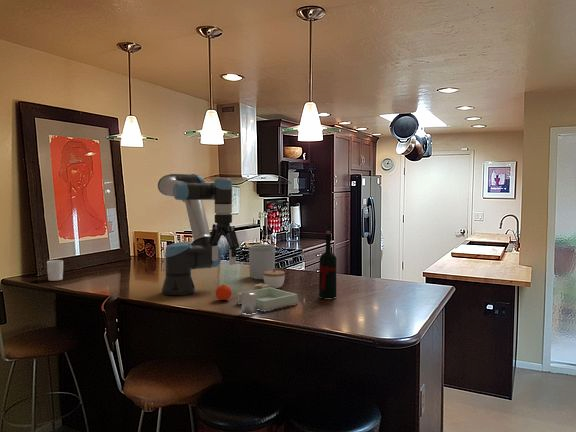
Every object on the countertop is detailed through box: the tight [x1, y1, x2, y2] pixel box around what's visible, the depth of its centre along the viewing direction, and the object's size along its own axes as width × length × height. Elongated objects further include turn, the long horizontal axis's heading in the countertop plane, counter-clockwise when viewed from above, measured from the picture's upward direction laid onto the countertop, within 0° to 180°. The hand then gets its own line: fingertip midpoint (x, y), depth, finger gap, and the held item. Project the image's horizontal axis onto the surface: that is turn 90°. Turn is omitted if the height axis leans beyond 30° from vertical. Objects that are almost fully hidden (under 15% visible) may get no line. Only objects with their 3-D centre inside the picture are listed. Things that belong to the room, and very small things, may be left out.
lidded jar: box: [263, 268, 286, 289], centre depth 224 cm, size 11×11×9 cm
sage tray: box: [237, 287, 298, 310], centre depth 192 cm, size 18×18×4 cm
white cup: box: [46, 259, 64, 282], centre depth 242 cm, size 8×8×10 cm
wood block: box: [253, 283, 269, 290], centre depth 208 cm, size 5×5×5 cm
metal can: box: [241, 291, 258, 314], centre depth 178 cm, size 6×6×8 cm
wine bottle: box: [318, 230, 337, 298], centre depth 202 cm, size 8×10×30 cm
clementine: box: [215, 284, 233, 301], centre depth 199 cm, size 8×7×7 cm
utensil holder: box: [247, 243, 276, 280], centre depth 251 cm, size 15×15×18 cm
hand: (223, 262), depth 198 cm, fingers open, 13 cm apart
